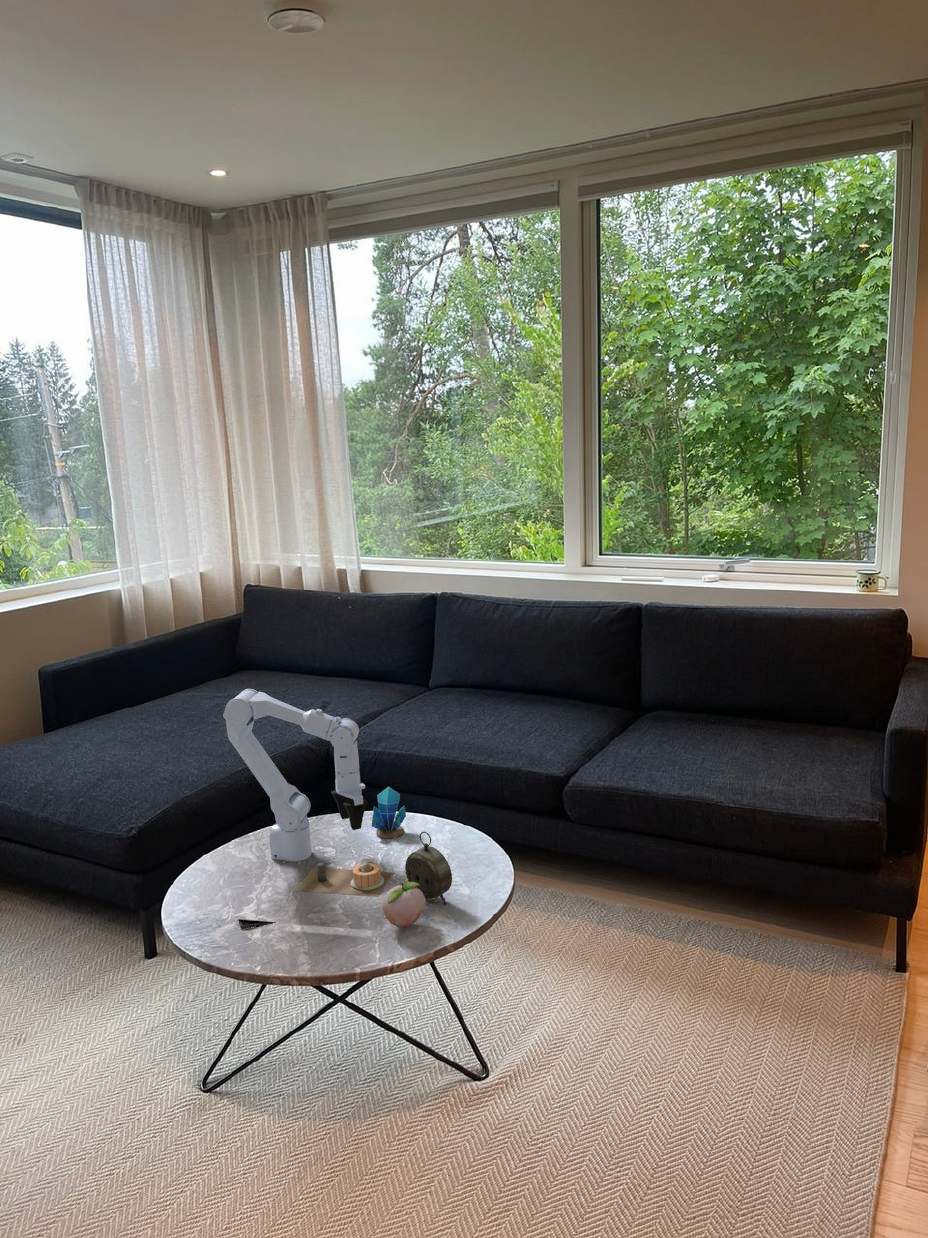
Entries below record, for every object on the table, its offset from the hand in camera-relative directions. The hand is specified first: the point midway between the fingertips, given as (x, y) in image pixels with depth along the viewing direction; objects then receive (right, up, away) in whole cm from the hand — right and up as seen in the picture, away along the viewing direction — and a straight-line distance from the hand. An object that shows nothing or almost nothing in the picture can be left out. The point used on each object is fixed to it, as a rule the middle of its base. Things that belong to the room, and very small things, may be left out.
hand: (351, 823), depth 230 cm
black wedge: (-19, -15, -21) cm, 32 cm away
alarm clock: (+20, -13, -21) cm, 31 cm away
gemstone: (+8, -6, +16) cm, 19 cm away
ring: (+5, -10, -14) cm, 18 cm away
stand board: (0, -12, -12) cm, 17 cm away
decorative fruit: (+15, -15, -32) cm, 38 cm away
